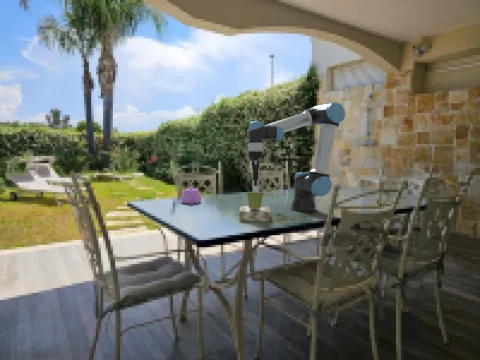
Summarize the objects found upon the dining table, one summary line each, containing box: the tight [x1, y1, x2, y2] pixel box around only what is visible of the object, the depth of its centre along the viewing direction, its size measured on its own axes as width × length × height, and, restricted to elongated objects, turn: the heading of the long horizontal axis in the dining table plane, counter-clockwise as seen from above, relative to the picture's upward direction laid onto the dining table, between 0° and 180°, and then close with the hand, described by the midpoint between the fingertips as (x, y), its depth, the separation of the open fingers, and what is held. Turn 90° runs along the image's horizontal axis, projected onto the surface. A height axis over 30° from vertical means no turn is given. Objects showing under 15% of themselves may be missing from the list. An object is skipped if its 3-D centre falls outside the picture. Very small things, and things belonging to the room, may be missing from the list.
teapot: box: [180, 186, 202, 205], centre depth 245 cm, size 14×20×11 cm
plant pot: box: [246, 191, 265, 209], centre depth 192 cm, size 9×9×9 cm
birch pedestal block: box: [238, 205, 271, 222], centre depth 196 cm, size 16×16×5 cm
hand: (255, 190), depth 195 cm, fingers open, 13 cm apart
